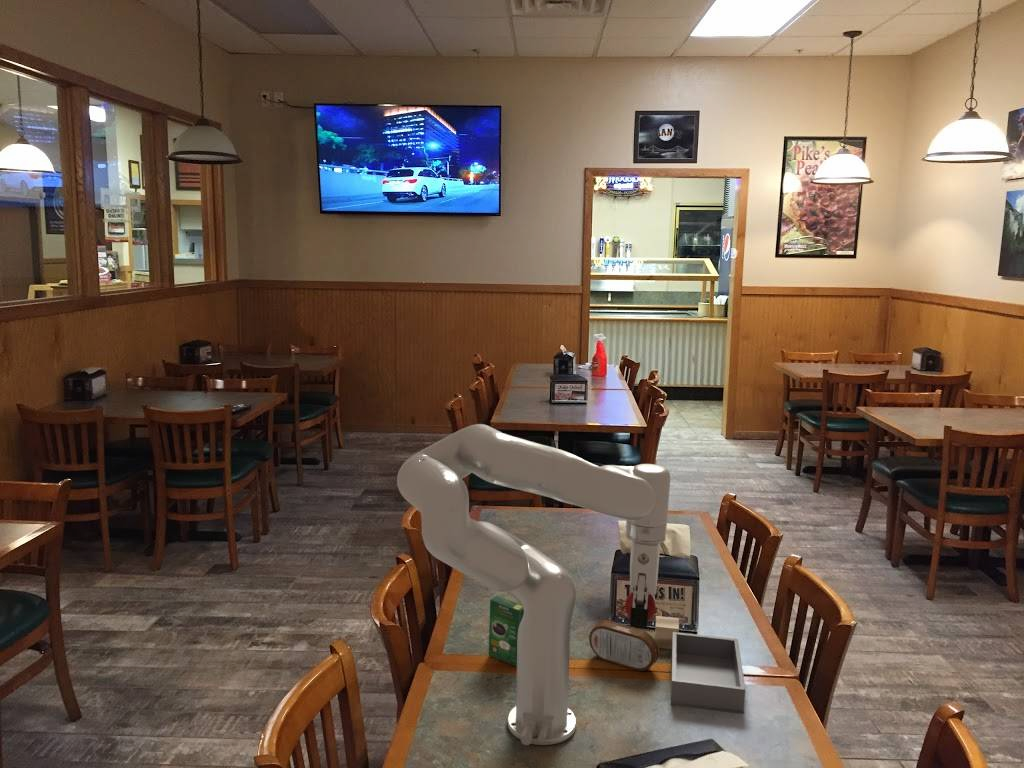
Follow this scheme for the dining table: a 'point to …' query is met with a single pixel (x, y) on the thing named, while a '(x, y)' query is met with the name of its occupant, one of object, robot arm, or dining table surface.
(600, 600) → the dining table surface
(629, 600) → the onion
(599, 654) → the tin
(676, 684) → the tote
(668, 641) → the maple cube
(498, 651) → the coffee box
